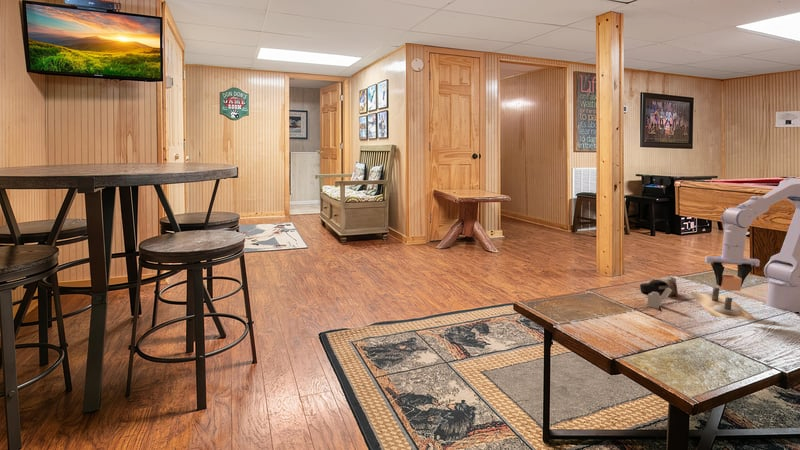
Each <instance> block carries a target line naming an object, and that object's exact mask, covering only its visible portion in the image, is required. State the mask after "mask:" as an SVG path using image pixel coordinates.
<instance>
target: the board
mask: <svg viewBox="0 0 800 450" xmlns="http://www.w3.org/2000/svg"><path fill="white" fill-rule="evenodd" d="M689 295H690V296H691V297H693V299H695V301H697V303H699V304H700V305H701V306H702V307H703V309H705V311H707V312H708V314H710V315H711V316H712V317H718V318H719V317H720V318H729V319H730V318H731V319H742V320H743V319H744V320H752V321H753V320H754V321H757V320H758V319H757V318H755V316H753V315H752V314H750V313H749V312H748V311H747V310H746V309H744V308H743V307H742V306H740V304H738V303H737V302H736V301H734V300H733V298H732V297H729V296H728V295H723V294H722V295H721V294H720V287H717V286H716V287H713V288H712V293H711V294H707V293H692V292H689Z"/></svg>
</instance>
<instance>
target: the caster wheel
mask: <svg viewBox="0 0 800 450" xmlns="http://www.w3.org/2000/svg"><path fill="white" fill-rule="evenodd" d="M676 279H677V278H676V277H672V276H668V277H667V278H658V279H652V280H650V281H649V282H645V283H640V285H639V287H640V291H641V292H642V293H652V292H657V293H659V294H662V293H663V292H664V291H665V289H666V288H670V289H671V290H672V292H671V293H670V294H669V296H668V297H672V296H675V297H676V298H679V293H678V285H677V280H676Z"/></svg>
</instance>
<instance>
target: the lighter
mask: <svg viewBox="0 0 800 450" xmlns="http://www.w3.org/2000/svg"><path fill="white" fill-rule="evenodd" d="M671 292H672V290H671V289H670V288H666V289H665V291H664V292H663V293H661V294H660V292H649V293H648V294H647V307H649V308H653V309H656V310H661V306H662V304H663V301H665V300H667V299H668V297H670V296H669V294H670V293H671Z"/></svg>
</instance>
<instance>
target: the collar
mask: <svg viewBox="0 0 800 450" xmlns="http://www.w3.org/2000/svg"><path fill="white" fill-rule="evenodd" d="M737 275H738V274H733V273H732V274H731V273H730V274H727V273H723V275H722V283H721V286H718V285H717V284H716V287H717V288H719V289H721V290H723V291H734V292H735V291H738V292H741V289H742V286H741V282H742V279H741V278H740V277H738V276H737Z"/></svg>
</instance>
